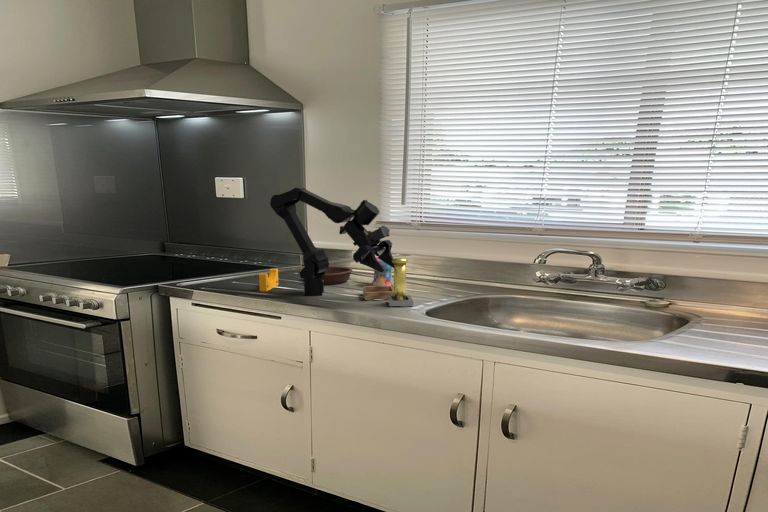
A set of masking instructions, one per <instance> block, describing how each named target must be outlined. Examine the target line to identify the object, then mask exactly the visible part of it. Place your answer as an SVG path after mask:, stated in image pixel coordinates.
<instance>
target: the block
mask: <svg viewBox="0 0 768 512" xmlns="http://www.w3.org/2000/svg"><path fill="white" fill-rule="evenodd" d="M386 301H388V302H387V304H388V303H389V304H388V307H389V306H413V307H414V299H413V298H412V297H411V295H410V294H409V295H407V294H406V300H394V296H387V300H386Z"/></svg>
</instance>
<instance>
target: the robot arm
mask: <svg viewBox="0 0 768 512" xmlns="http://www.w3.org/2000/svg"><path fill="white" fill-rule="evenodd" d="M299 202H302V203H305V204H306V205H308V206H309V207H312V208H314V209H316V210H317V211H319V212H322V213H323V214H324V215H325V216H326V217H327V218H328V219H329V220H331V222H332V223H336V224H343V223H345V224H344V225H341V226H339V233H338V234H339V235H345V234H347V235H348V236H349V237H350V239H351V240H352V242H353V243H352V244H353V246H354V247H357V246H358V248H357V250H355V252H354V253H353V254H352V259H353V261H354V262H355V264H357V263H359V264H360V265H364V266H366V267H369V268H371V269H373V270H374V269H375V270H377V271H379V272H381V273H382V272H384V269H383V267H382V266H381V264H380V263H379V262H378V260H377V259H376V258H377V257H378V258H379V259H380V260H382V261H383V262H385V263H386V264H388V265H389V266H391V267H392V269H393V268H394V263H393V262H392V259H393V258H394V257H393V255H392V248H393V243H392V241H391V240H390V239H384V238H386V237H387V238H388V237H389V236H390V235H391V234H390V228H388V226H385V225H381V226H379V227H378V229H375V230H373V231H372V230H367V229H366V228H365V226H369V225H370V224H371V223H372V222H373V221H374V220H375V219H376V218H377V217H378V215H380V210H379V208H378V207H377V205H375V204H373V203H371V202H369V201H368V200H367V199H362V201H361V202H360V203H359V205H358V206H357V208H356V209H354V208H353V209H352V207H351V206H349V205H346V204H341V203H337V202H332V201H330V200H327V199H326V198H324V197H322V196H320V195H318V194H316V193H313V191H312V192H311V191H309V190H307V189H306V188H305V187H294V188H292V189H290V190H289V191H285V192H283V193H280V194H274V195H273V196H272V197H271V199H270V202H269V204H270V208H271V209H272V210H273V212H274V213H275V214H276V215H277V216H279V218H281V219H283V221H284V222H285V224H286V226H287V227H288V229H289V231H290V234H291V235H292V236H293V238H294V240H295V242H296V244H297V246H298V247H299V249H300V251H301V253H302V258H303V259H302V261H303V265H304V267H303V268H302V269H301V270H300V271H299V273H298V274H299V276H300V279H301V280H302V279H303V288H304V289H303V291H304V292H303V296H305V297H306V296H310V297H311V296H323V293H324V291H325V284H324V280H322V276H324V275H325V273H326V270H327V269H328V267H330V262H329V259H330V258H329V257H328V256H327V254H326V253H325V250H324V249H322V248H321V249H318V248H316V246H315V245H314V243H313V241H312V240H311V237H310V236H309V234H308V233H307V230H306V229H305V227H304V225H303V223H302V222H301V220H300V218H299V216H298V213H297V206H296V204H298V203H299ZM382 239H384V240H382ZM376 256H377V257H376Z"/></svg>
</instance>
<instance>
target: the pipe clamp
mask: <svg viewBox="0 0 768 512" xmlns="http://www.w3.org/2000/svg"><path fill="white" fill-rule="evenodd" d="M258 280H259V281H258V283H259V284H258V285H259V292H268V291H270V290H271V289H274V288H275V287H278V286H279V268H270V269H269V274H268V273H267V272H266V273H259V274H258Z"/></svg>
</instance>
